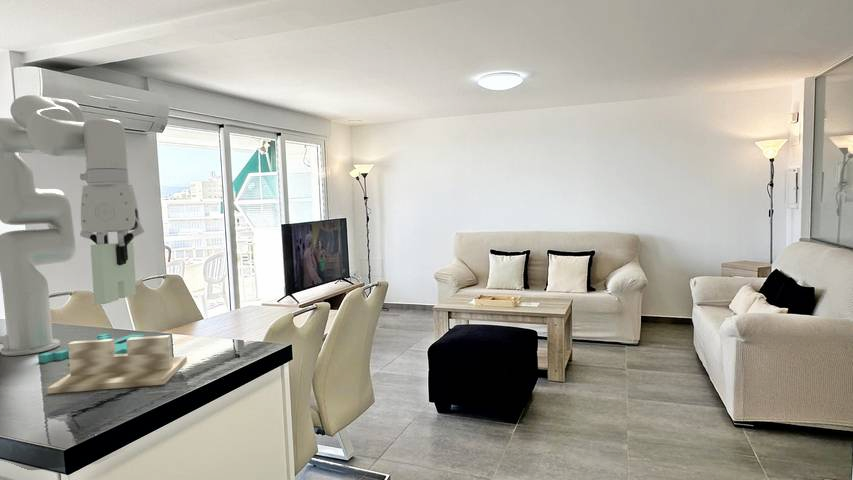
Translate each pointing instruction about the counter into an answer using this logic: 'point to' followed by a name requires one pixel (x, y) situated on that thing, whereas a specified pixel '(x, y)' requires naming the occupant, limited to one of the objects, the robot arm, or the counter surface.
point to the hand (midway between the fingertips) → (115, 264)
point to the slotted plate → (112, 273)
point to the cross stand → (118, 364)
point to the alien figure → (119, 343)
